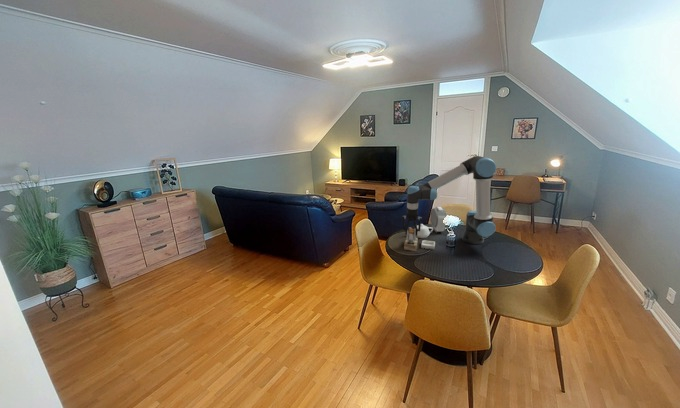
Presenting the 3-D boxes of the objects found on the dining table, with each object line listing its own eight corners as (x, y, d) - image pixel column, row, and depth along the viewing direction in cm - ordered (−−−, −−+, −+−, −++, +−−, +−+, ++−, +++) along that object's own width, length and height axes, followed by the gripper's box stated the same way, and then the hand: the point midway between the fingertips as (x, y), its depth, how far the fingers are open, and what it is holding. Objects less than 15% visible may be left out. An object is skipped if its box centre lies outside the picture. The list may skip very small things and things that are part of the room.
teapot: (411, 239, 213) (411, 227, 210) (405, 233, 225) (406, 222, 222) (435, 238, 215) (436, 226, 212) (429, 232, 227) (430, 220, 224)
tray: (422, 243, 206) (422, 240, 206) (434, 244, 203) (435, 241, 203) (421, 248, 198) (421, 244, 198) (434, 249, 195) (434, 246, 195)
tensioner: (406, 241, 210) (407, 233, 208) (417, 243, 207) (417, 235, 205) (403, 249, 197) (404, 240, 195) (415, 250, 194) (415, 242, 192)
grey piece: (446, 234, 222) (448, 210, 217) (435, 234, 222) (437, 210, 217) (438, 226, 240) (440, 204, 234) (428, 226, 240) (430, 204, 234)
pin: (408, 244, 202) (408, 228, 198) (414, 245, 200) (415, 228, 197) (407, 247, 198) (408, 230, 194) (413, 248, 196) (414, 231, 193)
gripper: (398, 208, 191) (398, 239, 197) (425, 210, 185) (423, 242, 191) (400, 205, 197) (399, 236, 204) (425, 207, 191) (424, 238, 198)
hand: (411, 239), depth 197 cm, fingers closed on pin, 4 cm apart
